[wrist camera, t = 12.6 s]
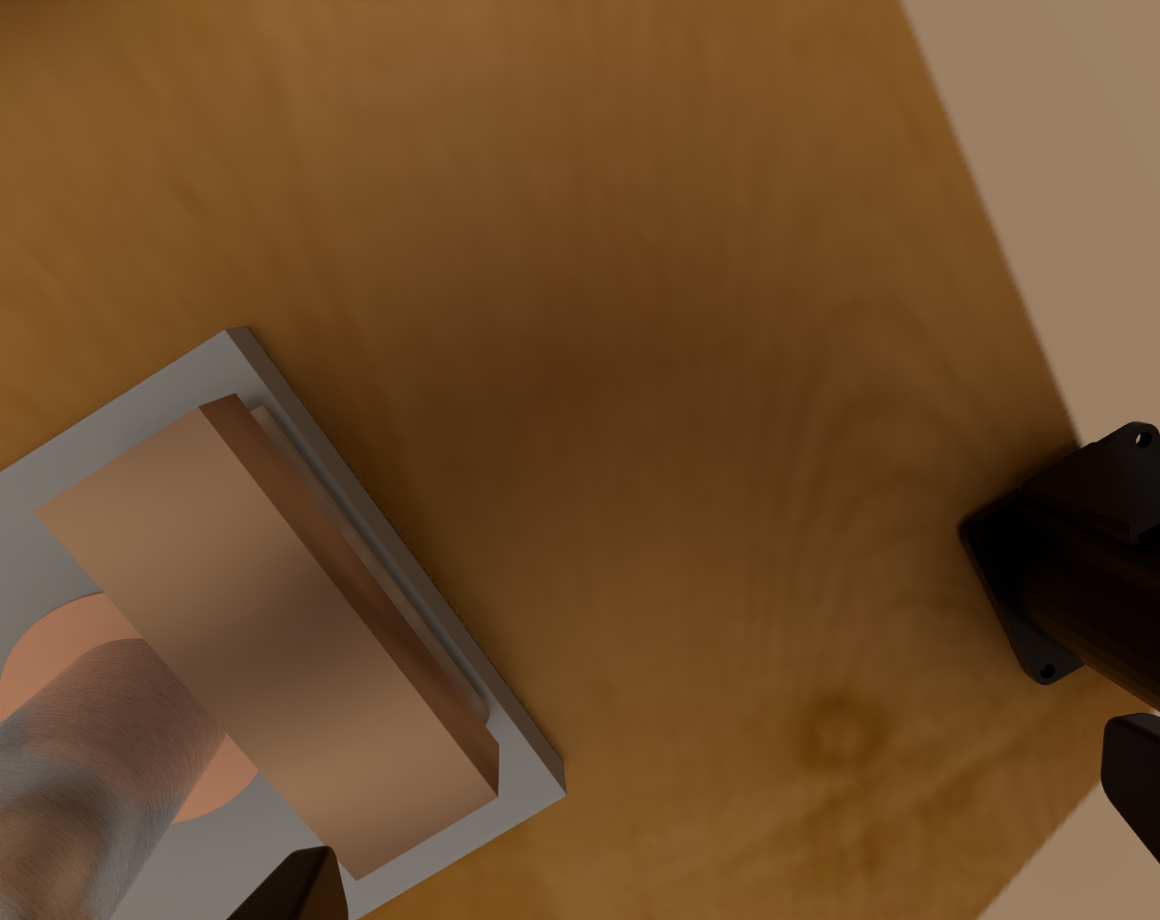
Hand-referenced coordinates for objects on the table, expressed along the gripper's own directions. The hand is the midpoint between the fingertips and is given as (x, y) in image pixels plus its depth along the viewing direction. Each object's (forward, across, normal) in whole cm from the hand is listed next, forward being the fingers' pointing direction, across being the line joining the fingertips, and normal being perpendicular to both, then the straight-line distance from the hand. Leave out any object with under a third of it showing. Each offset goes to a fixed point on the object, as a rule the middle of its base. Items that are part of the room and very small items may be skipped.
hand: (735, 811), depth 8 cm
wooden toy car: (+12, +8, +1) cm, 14 cm away
